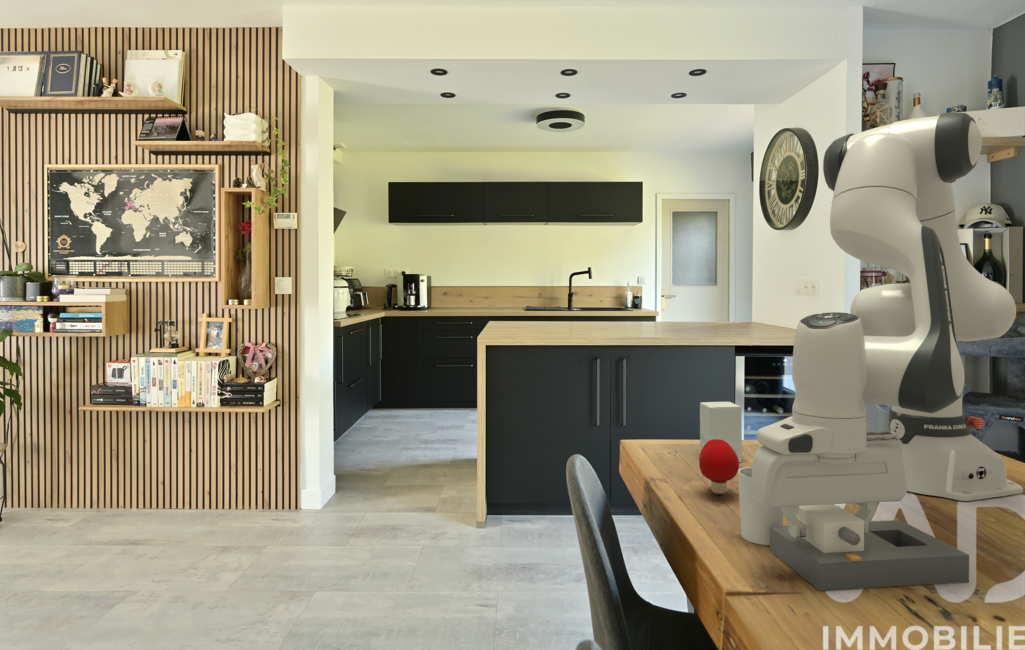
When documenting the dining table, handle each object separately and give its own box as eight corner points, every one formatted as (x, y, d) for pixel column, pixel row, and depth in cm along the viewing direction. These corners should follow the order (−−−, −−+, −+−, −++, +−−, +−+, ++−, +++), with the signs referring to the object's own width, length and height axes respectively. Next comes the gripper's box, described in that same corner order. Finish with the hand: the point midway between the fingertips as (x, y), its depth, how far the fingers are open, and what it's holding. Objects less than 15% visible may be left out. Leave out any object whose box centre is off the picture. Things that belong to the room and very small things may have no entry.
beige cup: (732, 528, 93) (731, 467, 93) (774, 528, 93) (774, 466, 92) (747, 546, 86) (747, 479, 86) (793, 546, 86) (793, 479, 86)
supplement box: (742, 462, 130) (742, 406, 129) (709, 463, 130) (709, 407, 130) (730, 454, 137) (730, 400, 137) (699, 454, 137) (699, 401, 137)
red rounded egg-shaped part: (743, 504, 104) (743, 449, 103) (702, 502, 105) (702, 447, 105) (734, 487, 113) (734, 436, 112) (696, 486, 114) (696, 435, 114)
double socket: (899, 543, 86) (899, 517, 86) (969, 581, 74) (969, 552, 74) (769, 550, 85) (769, 524, 85) (819, 590, 73) (819, 561, 73)
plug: (832, 552, 83) (832, 503, 82) (874, 580, 74) (874, 526, 74) (795, 554, 82) (795, 505, 82) (833, 582, 74) (833, 528, 74)
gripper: (884, 425, 82) (884, 521, 83) (745, 431, 81) (745, 529, 81) (919, 435, 76) (918, 539, 77) (768, 442, 75) (769, 548, 75)
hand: (828, 534), depth 79 cm, fingers open, 7 cm apart
